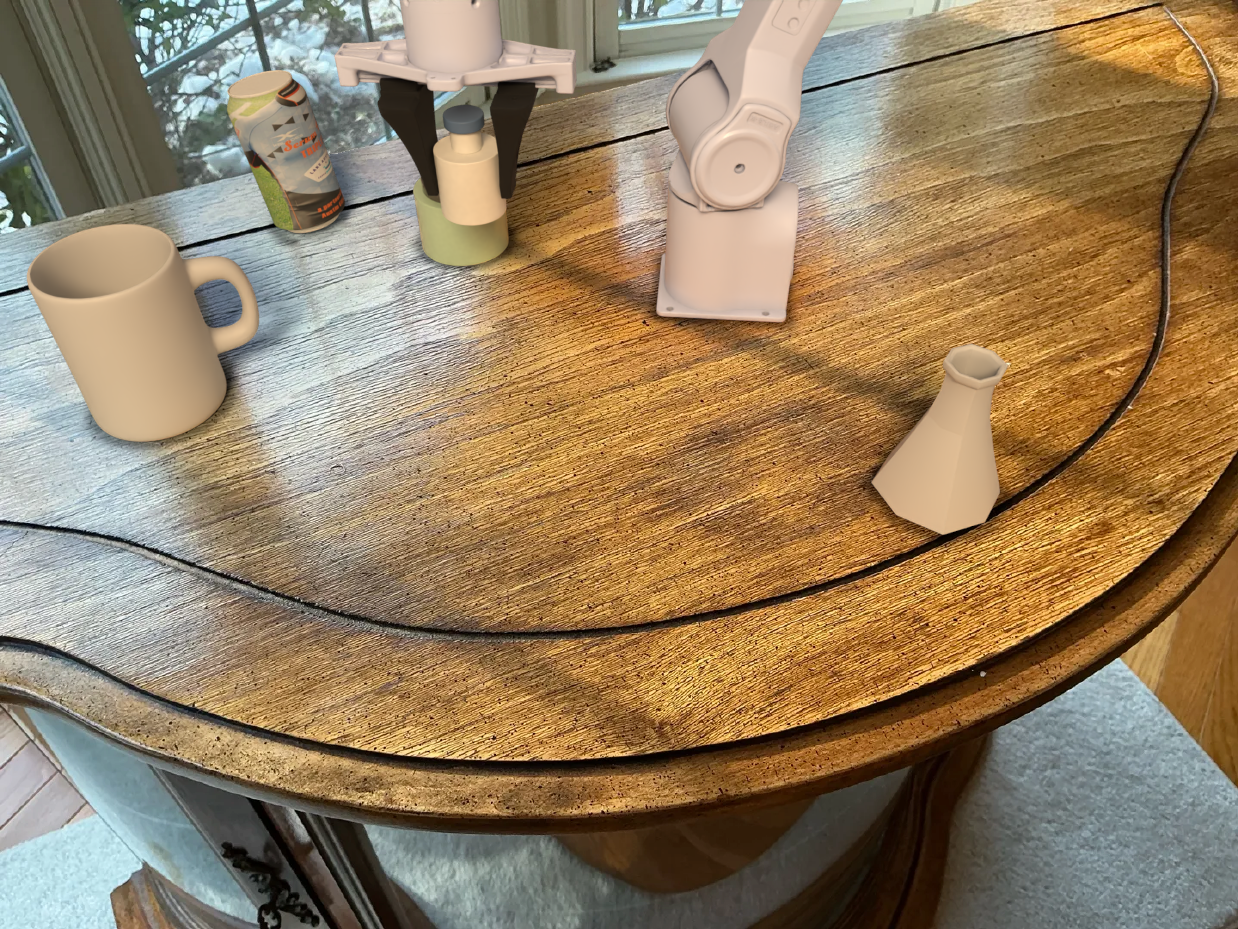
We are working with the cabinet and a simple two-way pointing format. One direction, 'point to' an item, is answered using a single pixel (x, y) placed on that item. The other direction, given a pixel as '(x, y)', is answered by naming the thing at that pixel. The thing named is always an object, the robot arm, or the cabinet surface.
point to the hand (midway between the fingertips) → (471, 189)
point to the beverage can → (285, 151)
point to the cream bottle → (468, 169)
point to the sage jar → (456, 234)
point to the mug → (139, 327)
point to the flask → (949, 450)
